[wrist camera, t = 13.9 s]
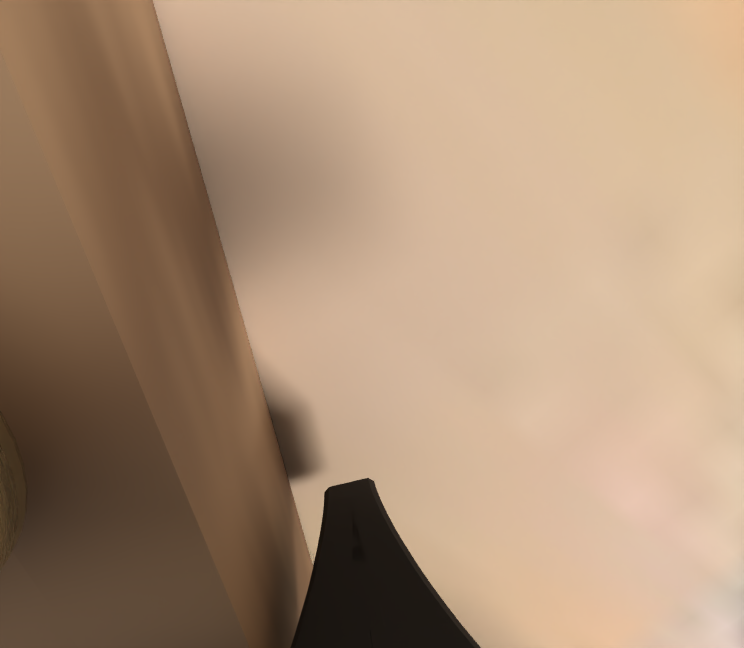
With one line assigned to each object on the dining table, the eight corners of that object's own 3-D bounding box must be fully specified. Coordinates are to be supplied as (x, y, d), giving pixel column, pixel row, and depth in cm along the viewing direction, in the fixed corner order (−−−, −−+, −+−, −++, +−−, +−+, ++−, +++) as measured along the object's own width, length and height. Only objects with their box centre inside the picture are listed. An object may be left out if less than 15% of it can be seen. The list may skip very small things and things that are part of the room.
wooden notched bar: (351, 702, 16) (373, 944, 12) (191, 739, 16) (152, 1001, 11) (148, -12, 7) (-78, -136, 3) (-224, 39, 7) (-1126, -7, 3)
